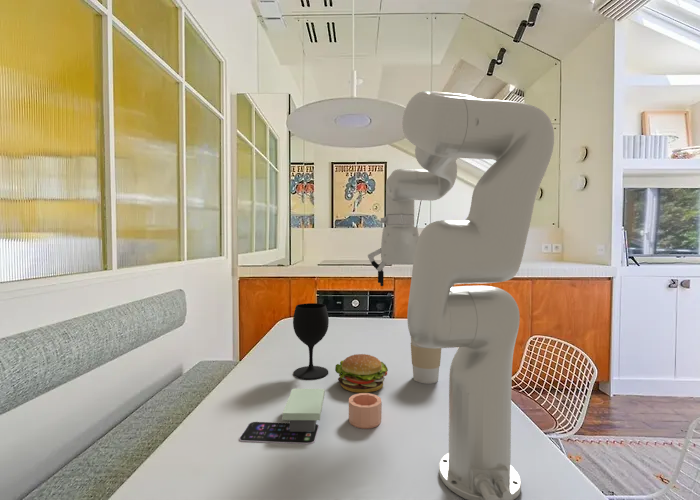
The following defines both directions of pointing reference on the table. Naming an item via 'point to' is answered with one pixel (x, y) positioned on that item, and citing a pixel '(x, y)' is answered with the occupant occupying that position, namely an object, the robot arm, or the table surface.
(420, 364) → the coffee cup
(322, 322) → the wine glass
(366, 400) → the ramekin
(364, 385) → the food
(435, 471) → the table surface
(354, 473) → the table surface
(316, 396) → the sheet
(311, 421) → the tall grey rectangular block
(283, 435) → the smartphone
